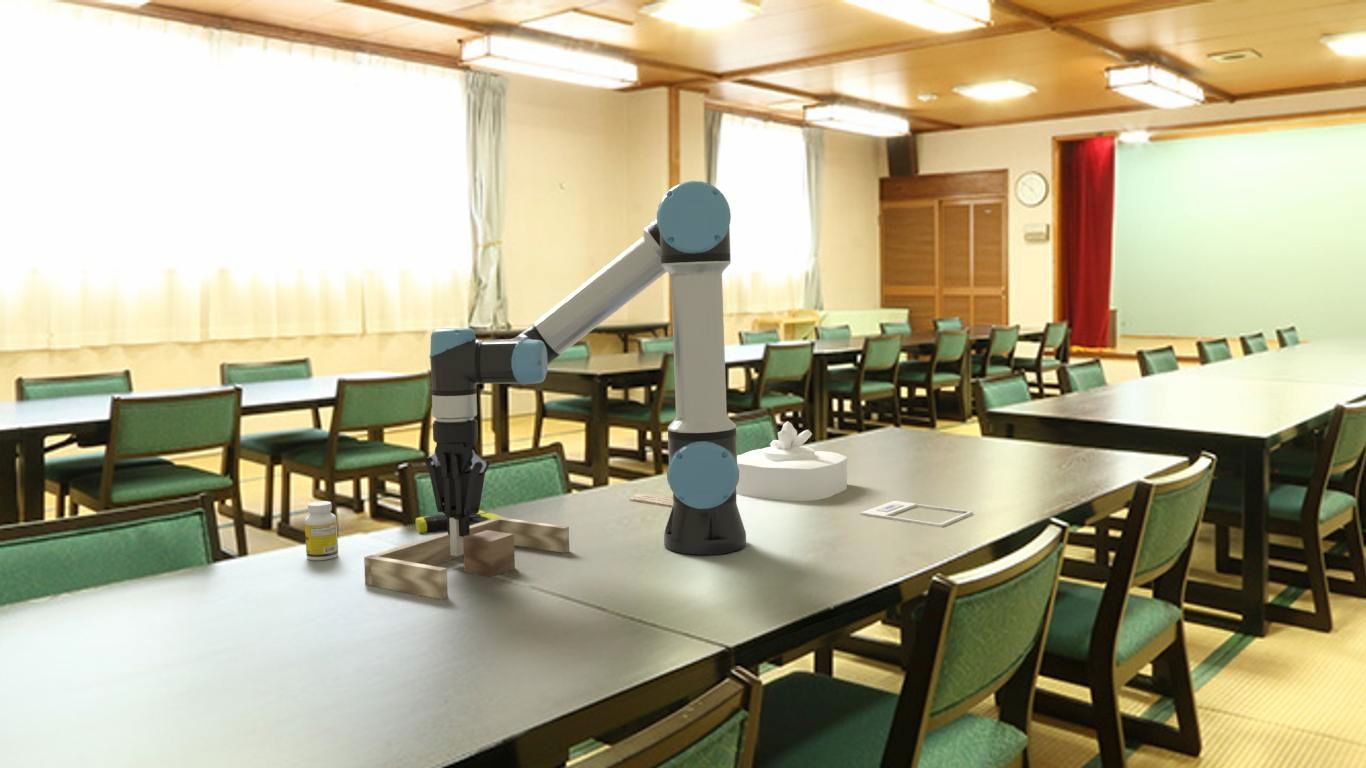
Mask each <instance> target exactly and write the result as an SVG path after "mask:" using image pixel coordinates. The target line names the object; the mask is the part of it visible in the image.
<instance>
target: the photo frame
mask: <svg viewBox="0 0 1366 768" xmlns="http://www.w3.org/2000/svg"><path fill="white" fill-rule="evenodd" d="M913 508H921V509H922V508H923V509H928V510H929V509H930V510H935V511H936V510H937V511H943V512H948V513H949V512H951V513H957V514H959V515H957V516H954V517H952V518H950V519H947V520H944V521H942V522H940V523H937V522H933V521H923V520H917V519H911V518H904V517H899V516H894V515H897V514H899V513H903V512H904V511H907V510H910V509H913ZM859 513H860V516H866V517H871V518H878V519H885V520H890V521H891V520H892V521H898V522H905V523H911V524H918V525H922V526H923V525H925V526H931V527H936V528H937V527H938V528H943V527H944V526H947V525H949V524H953V523H955V522H958V521H959V520H962V519H964V518H966V517H969V516H972V515H973V513H974V512H973V511H970V510H964V509H962V510H961V509H957V508H956V509H955V508H949V507H943V506H937V505H936V506H935V505H929V504H927V505H926V504H921V503H920V504H919V503H914V502H907V501H898V500H892V501H890V502H886V503H883V504H880V505H879V506H875V507H873V508H870V509H867V510H864V511H861V512H859Z"/></svg>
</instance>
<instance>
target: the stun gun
mask: <svg viewBox="0 0 1366 768" xmlns="http://www.w3.org/2000/svg"><path fill="white" fill-rule="evenodd" d="M497 517H502V518H505V517H503V516H501V515H498V514H497V513H492V512H488V511H484V510H481V509H479V512H478V513H476V514H473V515H471V516H470V518H469V524H470V525H473V524H477V523H480V522H483V521H487V520H490V519H493V518H497ZM414 524H415V530H416V532H418V534H426V533H427V534H428V533H436V532H440V531H441V532H442V531H447V517H446V516H445V514H437V515H430V516H429V515H427V516H420V517H416V518H415V523H414Z"/></svg>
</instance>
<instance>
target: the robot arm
mask: <svg viewBox="0 0 1366 768" xmlns="http://www.w3.org/2000/svg"><path fill="white" fill-rule="evenodd" d="M730 208H731V207H730V204H729V202H728V200H727V199H726V197H725V195H724V194H723V193H722V192H721V191H720V190H719V189H718V188H717V187H716V186H714V185H712V184H710V183H708V182H704V181H702V180H701V181H700V180H698V181H697V180H691V181H683V182H681V183H678V184H676V185H674V186H672V187H671V188H670V189H668V191H667V192H666V193H665V194H664V195H663V197H662V199H661V200H660V202H659V204H658V209H657V211H656V218H655V219H654V220H653V221H651V222H650V223H649V224H648V225H647V226H646V227H644V228H643V235H642V237H641V238H640V239H638V240H637V241H636V242H634V244H631V246H629V247H628V248H626V250H624V251H623V252H622V253H621V254H619V255H618V256H616V257H615V258H614V259H613V260H612V261H610V262H609V263H608V264H607V265H605V266H604V267H603V268H602V269H600V270H599V271H598V272H597V273H595V274H594V275H593V276H592V277H591V278H589V279H588V280H586V282H584V283H583V284H582V285H580V286H579V287H578V288H577V289H575V290H574V291H573V292H571V293H570V294H568V296H566V297H565V298H564V299H563V300H561V301H560V302H559V303H557V304H556V305H555V306H554V307H552V308H551V309H550V310H549V311H547V312H546V313H544V314H543V315H542V316H541V317H540V318H539V319H536V321H535V322H534V323H533V324H530V326H528V327H527V328H526V329H524V330H523V331H522V332H521V333H519V334H518V335H517V336H515V337H513V338H509V339H487V340H486V339H478V338H477V337H476V333H475V330H474V329H473V328H470V327H469V328H468V327H466V328H465V327H464V328H463V327H451V328H450V327H447V328H445V327H444V328H437V329H435V330H433V331H432V333H430V351H429V352H430V354H429V359H430V378H431V380H430V381H431V410H432V411H431V414H432V415H431V416H432V417H433V418H434V419H435V420H433V421H432V439H433V442H434V443H436V445H435V448H434V453H433V454H432V455H430V456H426V457H425V458H424V460H423V461H424V464H425V466H426V467H427V470H428V473H429V478H430V482H431V488H432V492H433V496H434V500H435V507H436V511H437V512H438V513H443V515H445V516H446V517H447V530H446V531H447V532H448V535H450V552H451V555H452V556H459V555H462V554H464V548H463V537H466V536H468V535H469V533H470V527H469V526H470V524H469V518H470V516H471V515H473V514H476V513H478V512H479V510H480V507H481V501H482V495H483V487H484V481H485V476H486V472H487V471H488V468H489V466H490V462H489V460H483V459H482V458H480V456H479V455H478V454H479V453H478V449H477V447H476V442H477V440H478V439H479V431H478V430H479V429H478V428H479V427H478V426H479V425H478V420H477V419H476V418H475V417H477V415H478V404H477V400H478V399H477V394H478V393H477V390H478V389H477V385H479V384H480V385H485V384H488V385H489V384H491V385H493V384H499V385H500V384H501V385H502V384H504V385H507V384H511V385H514V384H515V385H516V384H517V385H526V386H527V385H531V384H541V383H543V382H544V381H545V380H546V377H547V374H548V366H549V365H550V364H551V363H552V362H555V360H556V359H557V358H558V357H559V356H561V355H562V354H563V353H565V352H566V351H567V350H568V349H570V348H571V347H572V346H574V345H575V344H577V342H578V341H581V339H583V338H584V337H585V336H586V335H588V334H590V333H591V332H592V331H593V330H594V329H595V328H598V326H599V325H600V324H602V323H603V322H605V321H606V320H608V318H609V317H611V316H612V315H614V314H615V313H616V312H617V311H618V310H619V309H621V308H622V307H624V305H626V304H628V303H629V302H630V301H631V300H633V299H634V298H635V297H637V295H639V294H640V293H641V292H643V291H644V290H645V289H647V288H648V287H650V285H652V284H653V283H654V282H656V281H657V280H658V279H660V278H661V277H662V276H663V275H665V274H666V273H668V274H669V275H670V293H671V294H670V295H671V297H670V298H671V320H672V322H671V323H672V344H673V346H672V347H673V369H674V393H675V394H674V396H675V397H674V398H675V418H674V419H673V421H672V422H670V424H669V425H668V426H667V449H668V450H667V451H668V467H667V469H666V479H667V484H668V485H669V489H670V490H671V491H672V498H673V506H672V507H671V510H670V514H669V517H668V520H667V523H666V526H665V530H664V533H663V546H664V547H665V548H666V549H668V550H669V551H673V552H674V553H675V552H676V553H681V554H689V555H701V556H702V555H703V556H704V555H721V554H728V553H733V552H737V551H740V550H742V549H744V548H745V547H746V546H747V531H746V529H745V526H744V523H743V520H742V517H741V513H740V511H739V508H738V504H737V494H736V486H737V485H738V481H739V468H738V466H737V455H738V446H737V445H738V444H737V440H738V435H737V425H736V423H735V422H734V421H732V419H731V418H729V416H728V413H727V384H726V357H725V353H726V352H725V328H724V327H725V326H724V325H725V323H724V322H725V321H724V297H723V296H724V294H723V293H724V292H723V273H724V271H725V270H726V268H727V267H728V266H729V265H730V264H731V238H730V235H731V233H730V232H731V230H730V225H731V219H732V218H731V217H732V216H731V209H730ZM447 532H446V533H447Z"/></svg>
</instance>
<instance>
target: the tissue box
mask: <svg viewBox="0 0 1366 768" xmlns="http://www.w3.org/2000/svg"><path fill="white" fill-rule="evenodd" d="M812 435H813V433H812V432H811V431H810V429H805V430H803V431H802V432H800V433H798V430H797V429H795V427H794V425H793V424H792V423H791V422H790V421H788V420H787V421H786V422H785V423H783V425H782V427H781V430H780V431H778V432H777V438H778V439H773V440H772V441H771V442H770V443H769V445H770V446H768V447H767V446H766V447H764V448H758V449H753V450H749V451H747V452H744V453H741V454H737V466H738V468H739V481H738V485H737V486H736V496H738V495H739V496H743V497H751V498H761V499H769V500H776V501H777V500H778V501H790V502H791V501H794V502H795V501H796V502H797V501H798V502H801V501H802V502H803V501H805V502H806V501H817V500H823V499H828V498H830V497H833V496H835V495H837V494H839V493H842V492H844V491H846V490H847V488H848V457H847V456H846V455H844V454H842V453H837V452H834V451H825V450H824V451H821V450H820V451H819V450H817V451H816V450H815V449H813V448H811V447H807V446H802V445H803V444H804V443H806V442H807V441H808V439H810V438H811V437H812Z"/></svg>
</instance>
